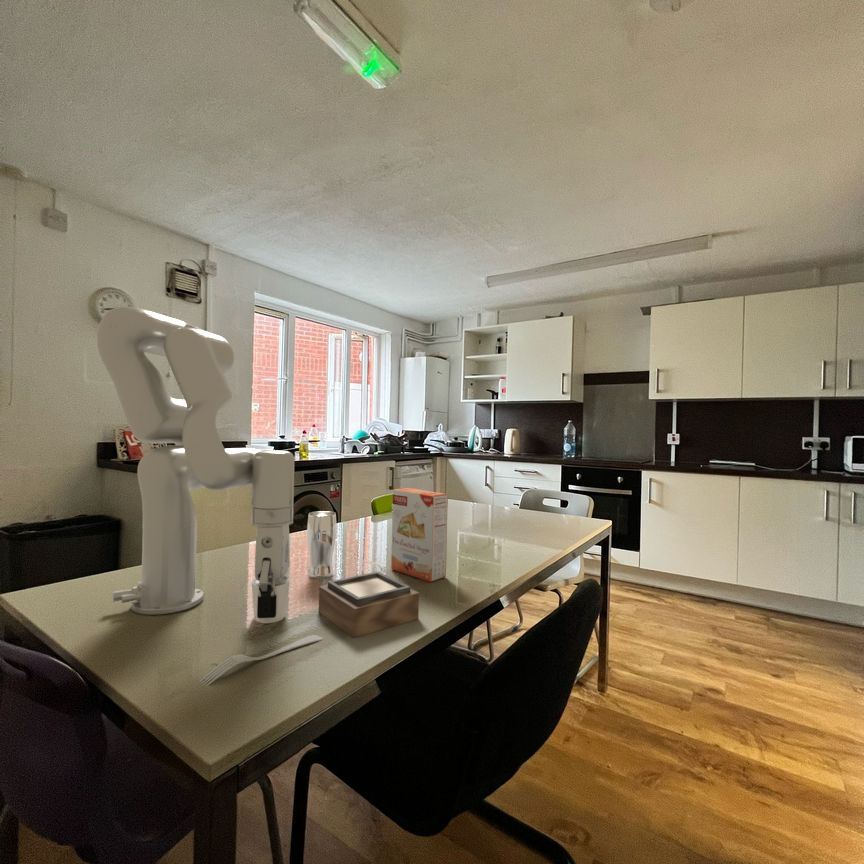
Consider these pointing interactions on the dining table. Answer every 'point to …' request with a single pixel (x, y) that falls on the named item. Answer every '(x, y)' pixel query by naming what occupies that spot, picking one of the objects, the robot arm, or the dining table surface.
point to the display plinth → (368, 603)
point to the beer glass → (321, 543)
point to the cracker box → (419, 533)
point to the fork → (243, 658)
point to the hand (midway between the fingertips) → (270, 608)
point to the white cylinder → (281, 599)
